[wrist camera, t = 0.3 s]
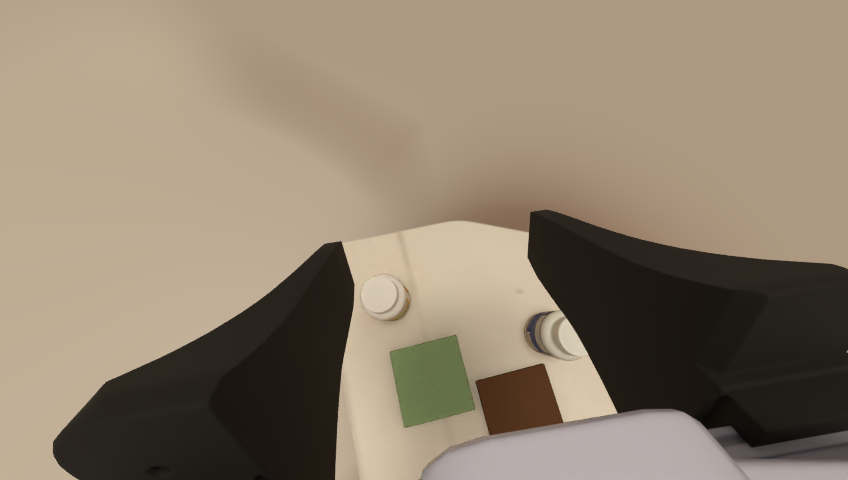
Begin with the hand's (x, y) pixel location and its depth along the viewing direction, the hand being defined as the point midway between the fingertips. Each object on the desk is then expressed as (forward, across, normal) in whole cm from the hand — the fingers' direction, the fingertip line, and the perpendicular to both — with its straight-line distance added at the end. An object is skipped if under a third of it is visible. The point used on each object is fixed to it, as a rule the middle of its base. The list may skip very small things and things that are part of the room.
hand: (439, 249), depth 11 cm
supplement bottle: (+22, +6, +22) cm, 32 cm away
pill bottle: (+17, -14, +26) cm, 34 cm away
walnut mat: (+11, -9, +32) cm, 35 cm away
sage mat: (+15, +2, +29) cm, 32 cm away
